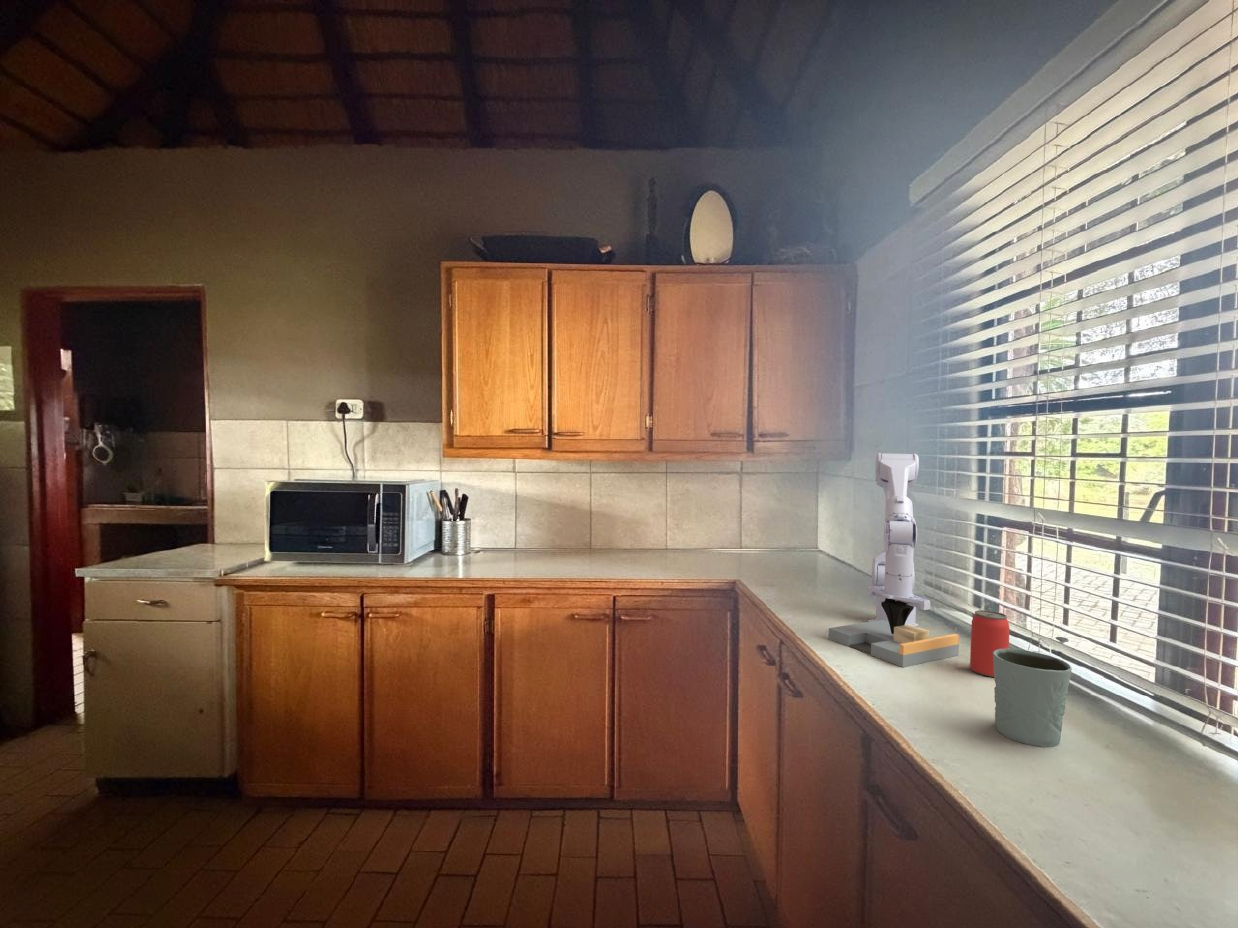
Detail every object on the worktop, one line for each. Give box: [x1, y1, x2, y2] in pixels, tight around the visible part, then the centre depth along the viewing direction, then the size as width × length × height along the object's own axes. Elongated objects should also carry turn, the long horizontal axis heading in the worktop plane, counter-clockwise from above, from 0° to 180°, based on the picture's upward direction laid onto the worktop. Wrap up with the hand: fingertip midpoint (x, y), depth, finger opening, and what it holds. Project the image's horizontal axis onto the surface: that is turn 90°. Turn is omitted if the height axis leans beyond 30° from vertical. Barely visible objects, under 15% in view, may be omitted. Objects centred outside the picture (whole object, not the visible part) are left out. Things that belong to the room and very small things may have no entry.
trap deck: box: [828, 620, 960, 668], centre depth 135 cm, size 18×20×4 cm
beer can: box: [969, 609, 1011, 678], centre depth 121 cm, size 7×7×12 cm
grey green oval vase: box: [993, 648, 1073, 748], centre depth 94 cm, size 10×10×12 cm
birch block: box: [894, 625, 930, 644], centre depth 131 cm, size 5×5×3 cm
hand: (896, 633), depth 134 cm, fingers closed
